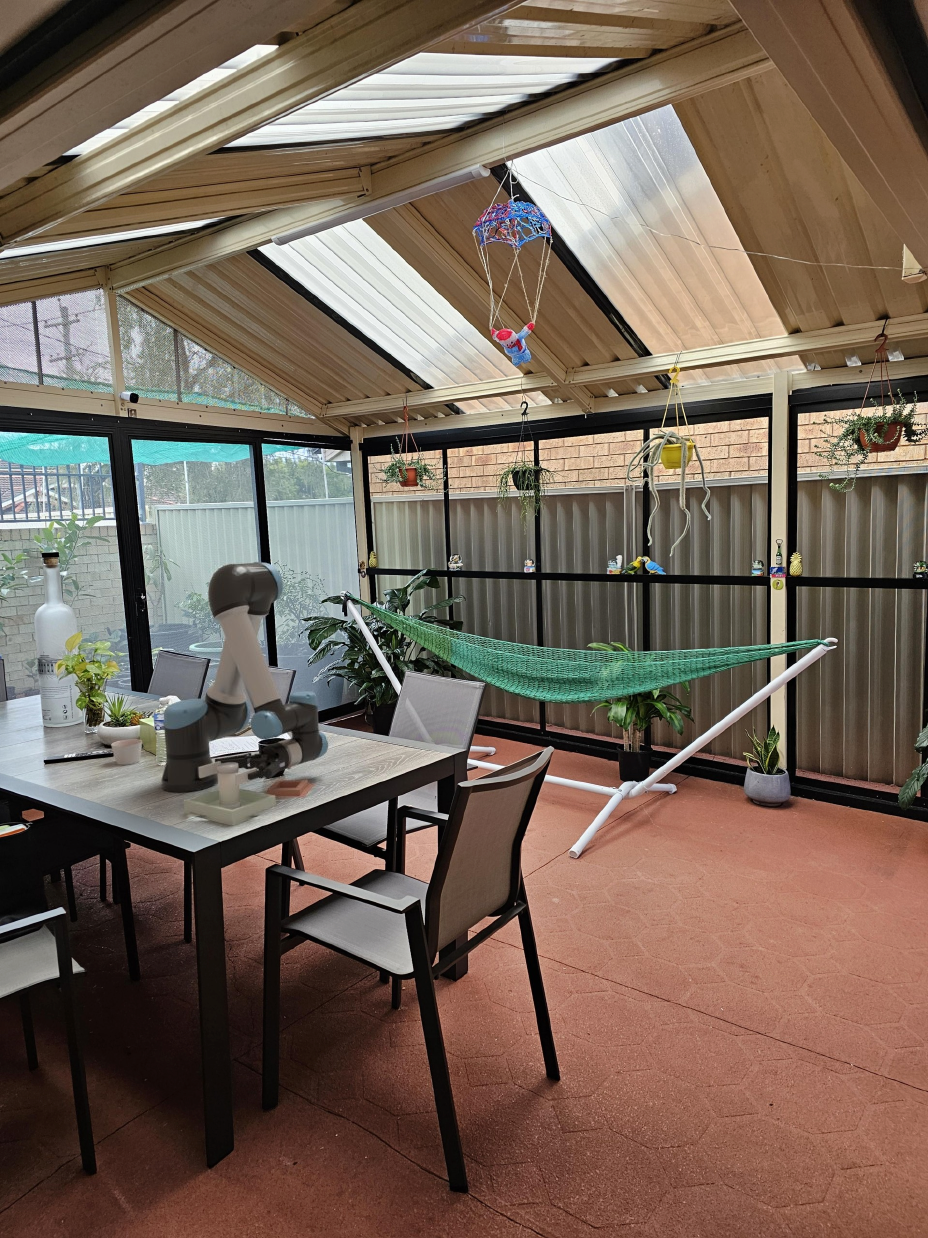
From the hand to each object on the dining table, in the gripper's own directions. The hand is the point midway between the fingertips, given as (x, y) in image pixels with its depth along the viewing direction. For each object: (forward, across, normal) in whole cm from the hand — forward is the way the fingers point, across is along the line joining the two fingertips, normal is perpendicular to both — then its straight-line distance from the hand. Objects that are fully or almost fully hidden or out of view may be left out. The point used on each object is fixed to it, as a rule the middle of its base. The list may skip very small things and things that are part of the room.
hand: (217, 776), depth 208 cm
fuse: (-3, 0, -9) cm, 10 cm away
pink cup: (-21, +68, -10) cm, 72 cm away
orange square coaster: (-21, -2, -10) cm, 23 cm away
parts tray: (-3, 0, -10) cm, 11 cm away
